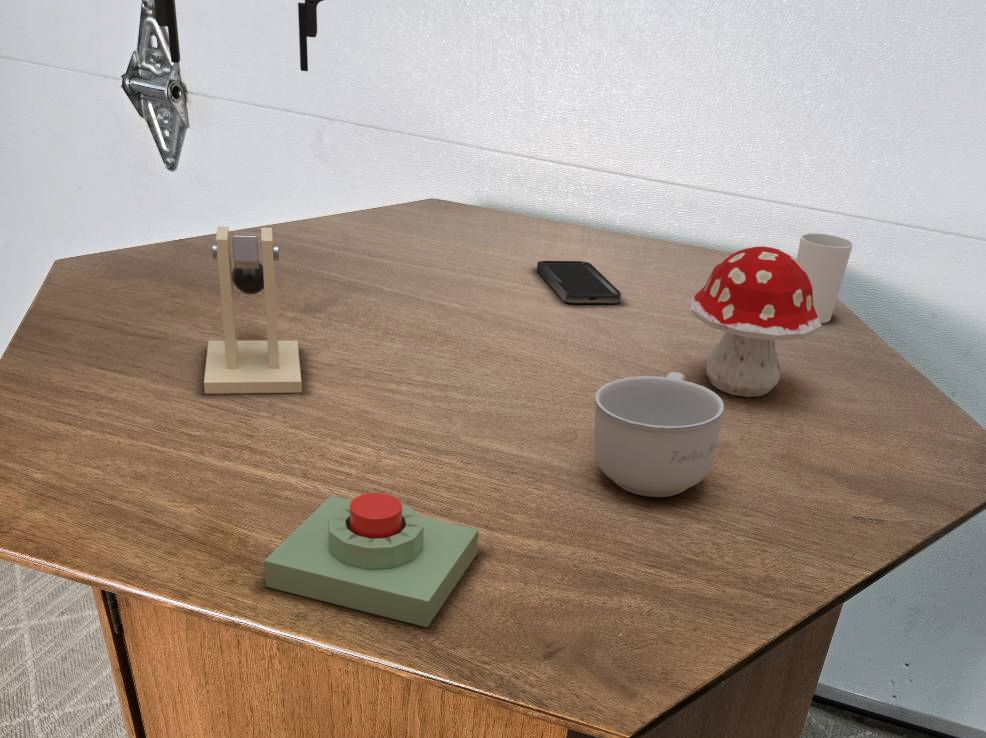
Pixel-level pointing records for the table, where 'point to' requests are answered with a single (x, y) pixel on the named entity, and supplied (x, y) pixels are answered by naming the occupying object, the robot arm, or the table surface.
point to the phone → (578, 282)
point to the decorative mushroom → (754, 317)
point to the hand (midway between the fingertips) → (241, 65)
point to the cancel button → (375, 515)
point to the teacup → (656, 433)
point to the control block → (373, 563)
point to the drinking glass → (824, 268)
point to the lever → (247, 265)
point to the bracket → (250, 361)
